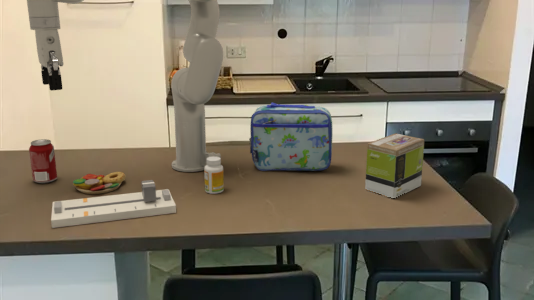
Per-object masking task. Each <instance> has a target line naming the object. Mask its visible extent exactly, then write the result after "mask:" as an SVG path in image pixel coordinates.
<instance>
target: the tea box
mask: <svg viewBox="0 0 534 300" xmlns="http://www.w3.org/2000/svg"><path fill="white" fill-rule="evenodd" d="M366 147H367V148H366V161H365V162H366V164H365V165H366V166H365V167H366V168H365V182H364V184H365V188H364V189H367V190H370V191H373V192H376V193H379V194H382V195H385V196H387V197H391V198H395V199H396V197H397V198H399V197H400V195H401V196H402V194H403V195H405V194H407V193H409V192H411V191H414V190H415V189H417V188H419V187H421V186H422V177H423V165H424V153H425V139H424V138H421V137H420V138H419V137H415V136H411V135H404V134H399V133H397V132H396V133H392V134H390V135H387V136H385V137H382V138H378V139H376V140H374V141H371V142H367V146H366ZM404 193H405V194H404ZM398 196H399V197H398ZM387 197H386V198H387ZM391 198H390V199H391Z"/></svg>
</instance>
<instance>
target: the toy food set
mask: <svg viewBox="0 0 534 300" xmlns="http://www.w3.org/2000/svg"><path fill="white" fill-rule="evenodd" d="M125 180H126V174H125V173H124V172H123V171H115V172H114V171H113V172H111V173H108V174H106V175H103V174H98V175H97V174H92V173H87V174H86V175H83V176H82V177H81V178H77V179H73V181H72V183H73V186H75V189H76V190H77V191H78V192H80V193H84V194H88V195H96V194H97V195H99V194H106V193H109V192H112V191H115V190H117V189H118V188H119V187H120V186H121V184H122V182H123V181H125Z"/></svg>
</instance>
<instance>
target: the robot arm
mask: <svg viewBox="0 0 534 300" xmlns="http://www.w3.org/2000/svg"><path fill="white" fill-rule="evenodd" d="M83 1H84V0H26V4H27V11H28V12H27V13H28V21H29V29H30V30H31V31H34V35H35V43H36V45H35V46H36V52H37V58H38V62H39V64H40V68H41V70H40V71H41V72H40V73H41V78H42V79H41V81H42V84H43V85H48V86H49V90H50V91H59V90H60V91H61V90H63V81H62V75H61V69H60V68H61V67H63V66H64V58H63V51H62V43H61V39H60V34H59V30H61V20H60V12H59V11H60V10H59V3H62V4H63V3H64V4H70V5H71V4H79V3H82V2H83ZM187 2H188V4H189V6H190V12H191V13H190V19H189V25H188V29H187V32H186V36H185V39H184V40H185V41H184V43H183V46H182V53H183V57H184V58H185V60H186V61H187V62H189V65H188V67H183V68H180V69H178V70H176V71H175V73H174V74H173V76H172V79H171V83H170V84H171V85H170V87H171V94H172V100H173V102H172V103H173V109H174V135H175V136H174V137H175V139H174V140H175V159H174V160H173V161H172V162H171V168H172V169H173V170H175V171H178V172H184V173H196V172H202V171H204V168H205V166H206V165H208V164H207V158H208V157H220V158H221V159H222V156H221V153H220V152H219V153H215V151H214V152H208V151H207V145H206V141H207V140H206V139H207V138H206V134H207V133H206V109H205V104H206V103H207V102H209V101H210V100H211V98H212V97H213V95H214V93H215V90H216V87H217V84H218V80H219V76H220V72H221V68H222V65H223V63H224V62H223V61H224V50H223V46H222V44H221V42H220V41H219V40H218V39H217V38H216V37H217V32H218V28H219V27H218V26H219V22H220V6H219V2H218V0H187Z"/></svg>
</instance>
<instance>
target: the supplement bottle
mask: <svg viewBox="0 0 534 300" xmlns="http://www.w3.org/2000/svg"><path fill="white" fill-rule="evenodd" d="M221 159H222V157H221V158H220V157H208V158H207V164H208V165H206V166H205V168H204V170H203V171H204V173H203V174H204V191H205V192H206V193H207V194H211V195H213V194H215V195H216V194H220V193H223V192H224V188H225V185H224V184H225V183H224V166H223V165H222V164H221V163H222V160H221Z"/></svg>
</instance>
